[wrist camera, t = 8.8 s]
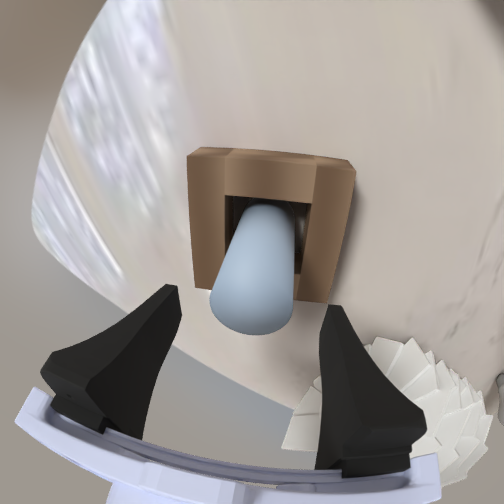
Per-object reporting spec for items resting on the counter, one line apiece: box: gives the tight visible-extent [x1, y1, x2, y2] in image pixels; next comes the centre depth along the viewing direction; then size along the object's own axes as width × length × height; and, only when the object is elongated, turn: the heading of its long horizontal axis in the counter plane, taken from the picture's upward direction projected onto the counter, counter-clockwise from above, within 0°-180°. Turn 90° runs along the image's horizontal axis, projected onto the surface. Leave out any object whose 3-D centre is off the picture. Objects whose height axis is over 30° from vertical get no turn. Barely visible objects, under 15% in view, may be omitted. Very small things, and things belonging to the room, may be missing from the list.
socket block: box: [187, 147, 356, 303], centre depth 20 cm, size 11×11×3 cm
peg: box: [210, 198, 295, 335], centre depth 17 cm, size 4×4×10 cm
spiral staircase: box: [281, 336, 493, 489], centre depth 23 cm, size 18×18×25 cm
